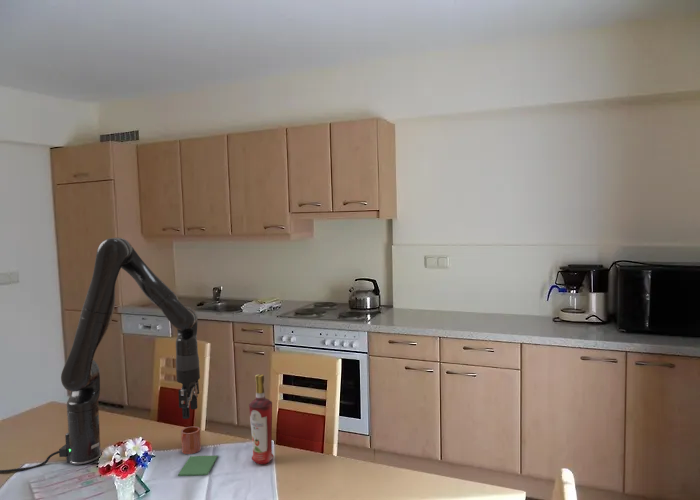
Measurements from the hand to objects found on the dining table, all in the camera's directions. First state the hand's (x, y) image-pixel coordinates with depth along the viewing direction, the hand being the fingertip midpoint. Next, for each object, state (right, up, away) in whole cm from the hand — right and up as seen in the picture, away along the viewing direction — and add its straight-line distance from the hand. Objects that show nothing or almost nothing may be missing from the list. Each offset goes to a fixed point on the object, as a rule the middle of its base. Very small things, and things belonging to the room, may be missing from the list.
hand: (190, 413), depth 169 cm
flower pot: (0, -13, +1) cm, 13 cm away
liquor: (+26, -13, -9) cm, 31 cm away
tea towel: (+6, -13, -11) cm, 18 cm away
